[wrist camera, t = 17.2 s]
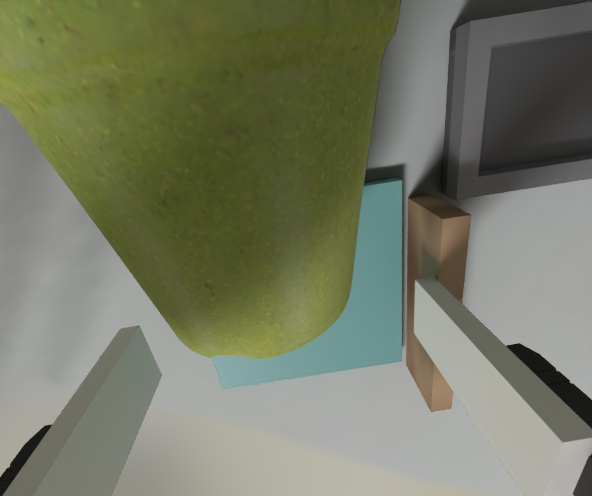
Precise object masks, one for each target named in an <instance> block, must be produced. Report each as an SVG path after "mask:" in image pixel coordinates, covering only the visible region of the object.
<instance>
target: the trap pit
mask: <svg viewBox="0 0 592 496" xmlns="http://www.w3.org/2000/svg"><path fill="white" fill-rule="evenodd" d="M590 178H592V2H585V3H579V4H573V5H567V6H560V7H554V8H548V9H542V10H536V11H529V12H523V13H517V14H511V15H504V16H498V17H492V18H486V19H480V20H473V21H469V22H467V23H465V24H463V25H461V26H459V27H457V28H455V29H453V30H451V32H450V49H449V67H448V85H447V103H446V120H445V138H444V156H443V174H442V192H441V193H443V194H445V195H447V196H449V197H452V198H454V199H456V200H458V199H464V198H470V197H477V196H483V195H489V194H496V193H502V192H508V191H514V190H521V189H527V188H533V187H540V186H546V185H552V184H559V183H565V182H571V181H578V180H584V179H590Z"/></svg>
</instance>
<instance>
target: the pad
mask: <svg viewBox="0 0 592 496" xmlns="http://www.w3.org/2000/svg"><path fill="white" fill-rule="evenodd" d="M211 358H212V361H213V364H214V367H215V369H216V372H217V375H218V378H219V381H220V384H221V387H222V389H228V388H234V387H241V386H247V385H254V384H260V383H266V382H273V381H279V380H286V379H292V378H298V377H305V376H311V375H318V374H324V373H330V372H337V371H343V370H349V369H356V368H362V367H369V366H375V365H381V364H388V363H394V362H401V361H402V180H401V179H399V178H390V179H384V180H378V181H371V182H365V183H364V187H363V194H362V201H361V209H360V217H359V226H358V234H357V243H356V252H355V261H354V269H353V278H352V286H351V291H350V295H349V299H348V302H347V305H346V307H345V309H344V311H343V312H342V314H341V315H340V317H339V318H338V319H337V320H336V321H335V322H334V323H333V324H332V325H331V326H330V328H329V329H328V330H326V331H325V332H324V333H322V334H321V335H320V336H319V337H317V338H316V339H315V340H313V341H311V342H309V343H308V344H306V345H304V346H302V347H300V348H298V349H296V350H293V351H291V352H289V353H286V354H282V355H279V356H276V357H272V358H267V359H256V358H250V357H244V356H235V355H227V356H224V355H220V356H214V357H211Z"/></svg>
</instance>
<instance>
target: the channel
mask: <svg viewBox="0 0 592 496" xmlns="http://www.w3.org/2000/svg"><path fill="white" fill-rule="evenodd" d="M470 217H471V215H470V214H468V213H466V212H464V211H462V210H460V209H458V208H456V207H454V206H452V205H450V204H448V203H446V202H444V201H442V200H440V199H438V198H436V197H434V196H432V195H425V196H419V197H412V198H408V255H407V359H406V365H407V367H408V369H409V371H410V373H411V375H412V377H413V378H414V380H415V382H416V384H417V386H418V388H419V390H420V392H421V394H422V396H423V398H424V399H425V401H426V403H427V405H428V407H429V409H430V411H431V412H433V411H440V410H446V409H451V406H452V396H453V390H452V389H451V387H450V386H449V384H448V383H447V381H446V380H445V378H444V377H443V375H442V374H441V372H440V371H439V370H438V368H437V367H436V365H435V364H434V362H433V361H432V359H431V358H430V356H429V355H428V353H427V352H426V350H425V349H424V347H423V346H422V344H421V343H420V341H419V340H418V338H417V337H416V335H415V334H414V305H415V280H416V279H422V278H428V277H435V278H436V279H437V280H438V281H439V282H440V283H441V284H442V285H443V286H444V287H445V288H446V289H447V290H448V291H449V292H450V293H451V294H452V295H453V296H454V297H455V298H456V299H457V300H458V301H460V302H461V303H462V297H463V287H464V277H465V267H466V257H467V247H468V237H469V227H470Z"/></svg>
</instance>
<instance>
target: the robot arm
mask: <svg viewBox="0 0 592 496" xmlns="http://www.w3.org/2000/svg"><path fill="white" fill-rule="evenodd" d="M414 334H415V335H416V337H417V338H418V340H419V341H420V343H421V344H422V346H423V347H424V349H425V350H426V352H427V353H428V355H429V356H430V358H431V359H432V361H433V362H434V364H435V365H436V367H437V368H438V370H439V371H440V372H441V374H442V375H443V377H444V378H445V380H446V381H447V383H448V384H449V386H450V387H451V389H452V390H453V392H454V393H455V395H456V396H457V398H458V399H459V401H460V402H461V404H462V405H463V407H464V408H465V410H466V411H467V413H468V414H469V415H470V417H471V418H472V420H473V421H474V423H475V424H476V426H477V427H478V429H479V430H480V432H481V433H482V435H483V436H484V438H485V439H486V441H487V442H488V444H489V445H490V447H491V448H492V450H493V451H494V453H495V454H496V456H497V457H498V459H499V460H500V461H501V463H502V464H503V466H504V467H505V469H506V470H507V472H508V473H509V475H510V476H511V478H512V479H513V481H514V482H515V484H516V485H517V487H518V488H519V490H520V491H521V493H522V494H523V496H573V495H574V496H592V400H591V399H590V398H589V397H588V396H587V395H586V394H584V393H583V392H582V391H581V390H580V389H579V388H578V387H576V386H575V385H574V384H571V383H570V380H568V379H567V378H566V377H565V376H564V375H563V374H562V373H560V372H559V371H556V368H555V367H554V366H552V365H551V364H550V363H549V362H548V361H547V360H546V359H544V358H543V357H542V356H541V355H540V354H538V353H536V352H535V351H533V350H531V349H529V348H527V347H525V346H523V345H522V344H520V343H519V344H513V345H507V346H505V345H504V344H503V343H502V342H501V341H500V340H499V339H498V338H497V337H496V336H495V335H494V334H493V333H492V332H491V331H490V330H489V329H488V328H487V327H485V326H484V325H483V324H482V323H481V322H480V321H479V320H478V319H477V318H476V317H475V316H474V315H473V314H472V313H471V312H470V311H469V310H468V309H467V308H466V307H465V306H464V305H463V304H462V303H461V302H460V301H458V300H457V299H456V298H455V297H454V296H453V295H452V294H451V293H450V292H449V291H448V290H447V289H446V288H445V287H444V286H443V285H442V284H441V283H440V282H439V281H438V280H437V279H436V278H435V277H428V278H422V279H416V280H415V305H414ZM161 376H162V375H161V372H160V370H159V368H158V366H157V363H156V361H155V359H154V357H153V355H152V352H151V350H150V348H149V346H148V343H147V341H146V339H145V337H144V334H143V332H142V330H141V328H140V326H134V327H128V328H121V329H120V330H119V331H118V333H117V334H116V336H115V337H114V338H113V340H112V341H111V343H110V344H109V346H108V347H107V348H106V350H105V351H104V353H103V354H102V355H101V357H100V358H99V360H98V361H97V363H96V364H95V365H94V367H93V368H92V370H91V371H90V372H89V374H88V375H87V377H86V378H85V380H84V381H83V382H82V384H81V385H80V387H79V388H78V389H77V391H76V392H75V394H74V395H73V397H72V398H71V399H70V401H69V402H68V404H67V405H66V406H65V408H64V409H63V411H62V412H61V414H60V415H59V416H58V418H57V419H56V421H55V422H54V424H53V425H46V426H44V427H43V428H42V429H41V430H40V431H39V432H37V434H35V435H34V436H33V437H32V438H31V439H30V440H29V441H28V442H27V443H26V444H25V445H24V446H23V448H22V449H21V450H20V452H19V453H18V455H17V456H16V457H15V458H14V460H13V461H12V462H11V464H10V467H9V468H7V469H6V471H5V472H4V473H3V474H2V476H1V477H0V496H112V494H113V491H114V489H115V486H116V484H117V482H118V479H119V477H120V474H121V472H122V470H123V467H124V465H125V463H126V460H127V458H128V455H129V453H130V451H131V448H132V446H133V443H134V441H135V439H136V436H137V434H138V431H139V429H140V427H141V424H142V422H143V419H144V417H145V415H146V412H147V410H148V407H149V405H150V403H151V400H152V398H153V395H154V393H155V391H156V388H157V386H158V383H159V381H160V379H161Z"/></svg>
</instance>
